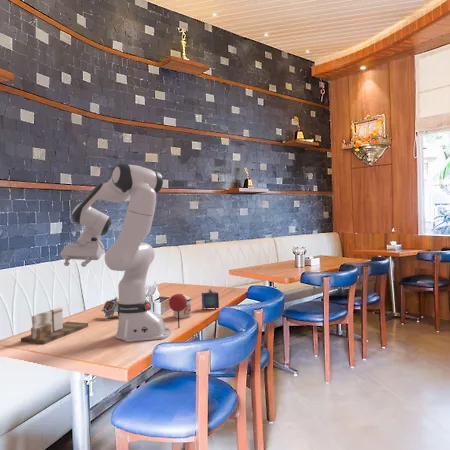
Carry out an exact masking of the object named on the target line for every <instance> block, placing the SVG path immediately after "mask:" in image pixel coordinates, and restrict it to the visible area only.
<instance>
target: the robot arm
mask: <svg viewBox="0 0 450 450" xmlns="http://www.w3.org/2000/svg"><path fill="white" fill-rule="evenodd" d="M163 185H164V179H163V175H162V174H161V173H160V172H159V171H157V170H155V169H150V168H147V167H143V166H141V165H135V164H128V163H117V165H115V167H113V170H112V174H111V177H110V179H109V180H108V181H107V182H103V183H101V182H100V183H99V184H97V185H95V187H93V189H92V190H91V191H90V192H89V193H88V194H87V196H85V197H84V199H83V200H82V201H81V202H80V203H79V204H77V205H76V206H75V207H74V208H73V210H72V212H71V218H72V220H73V222H74V223H77V224H79V225H82V226H83V227H84V228H83V231H82V232H81V234H80V235H79V237H78V239H77V240H76V242H70V243H67V244H66V245H65V246H64V247H63V249H62V250H61V251H60V256H61V258H62V259H63V260H64V262H63V265H64V266H65V267H69V266H70V262H69V261H70V260H77V261H78V260H82V262H81V264H80V265H81V267H83V268H85V267H86V266H87V265H88V264H89V263H91V261H98V260H100V259H101V256H102V255H103V252H104V251H103V250H105V245H104V244H103V242H102V241H101V239H100V238H101V237H102V236H106V234H108V231H109V229H110V227H111V225H112V220H111V217H110V216H109V215H107V214H105V213H104V212H101V211H100V210H97V209H96V208H94V207H92V206H91V205H93V203H94V202H96V201H99V200H101V201H108V202H111V203H122V202H125V201H126V200H127V199H128V198H129V197H130V198H129V201H128V205H127V210H126V214H125V218H124V221H123V225H122V228H121V230H120V233H118V236H117V238H116V240H115V241H114V242H113V244H112V245H111V246H109V248H108V249H107V250H106V251H105V254H104V262H105V265H106V267H108V269H109V270H111V271H114V272H115V271H116V272H124V274H123V275H122V278H121V280H119V283H118V285H117V287H118V289H117V291H118V302H119V303H118V312H117V317H118V322H117V331H116V334H115V337H116V338H117V340H121V341H124V342H127V343H130V342H140V341H142V342H143V341H152V340H153V341H154V340H162V339H165V338H167V337H169V336H170V335H171V329H170V328H169V327H166V325H165V321H164V318H163V316H160V315H159V314H158V313H156V312H155V311H154V310H152V309H151V307H152V305H151V304H152V302H151V301H147V300H146V282H147V281H146V280H147V276H148V271H149V268H150V266H151V264H152V262H153V261H154V259H155V250H154V248H153V246H152V245H150V243H146V242H143V241H144V240H145V238H146V237H147V236H148V235H149V234H150V232H151V229H152V224H153V221H154V216H155V213H156V204H157V194H158V193H159V192H160V191H161V190H162V188H163Z"/></svg>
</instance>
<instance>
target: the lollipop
mask: <svg viewBox="0 0 450 450" xmlns="http://www.w3.org/2000/svg"><path fill="white" fill-rule="evenodd" d="M186 305H187V300H186V298H185V297H184V296H183V295H181V294H180V293H177V294H176V293H175V294H173V295H171V296H170V298H169V300H168V306H169V307H170V309H171V310H172V311H173V312H174V311H176V312H178V318H177V323H178V324H177V326H178V327H177V328H180V318H179V311H182V310H184V309H185V307H186Z"/></svg>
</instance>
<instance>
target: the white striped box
mask: <svg viewBox="0 0 450 450" xmlns="http://www.w3.org/2000/svg"><path fill="white" fill-rule="evenodd" d="M51 310H52V311H53V331H56V330H59V329H62V328H63V323H64V321H63V307H56V308H53V309H51Z"/></svg>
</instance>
